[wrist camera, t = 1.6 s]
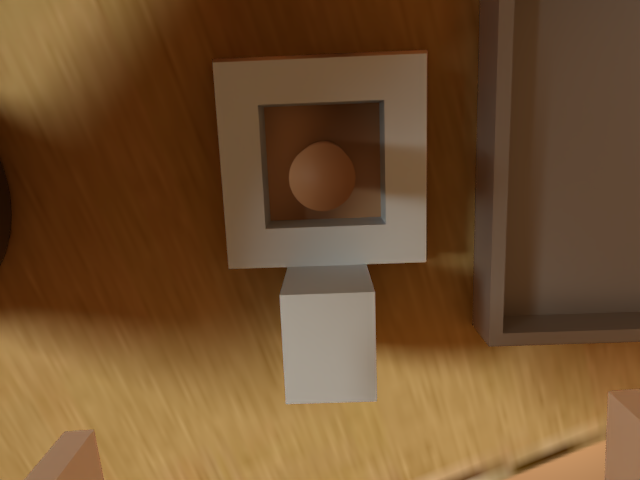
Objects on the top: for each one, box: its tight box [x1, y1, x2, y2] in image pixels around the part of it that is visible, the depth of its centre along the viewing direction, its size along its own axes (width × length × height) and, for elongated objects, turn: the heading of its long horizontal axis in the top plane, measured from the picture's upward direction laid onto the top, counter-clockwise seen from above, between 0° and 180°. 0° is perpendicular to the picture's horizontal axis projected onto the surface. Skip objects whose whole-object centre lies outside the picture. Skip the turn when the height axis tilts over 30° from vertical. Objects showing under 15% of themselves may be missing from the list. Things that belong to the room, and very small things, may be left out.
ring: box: [212, 53, 427, 404], centre depth 24 cm, size 10×15×7 cm, turn 2°
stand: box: [212, 50, 428, 260], centre depth 23 cm, size 11×11×10 cm
